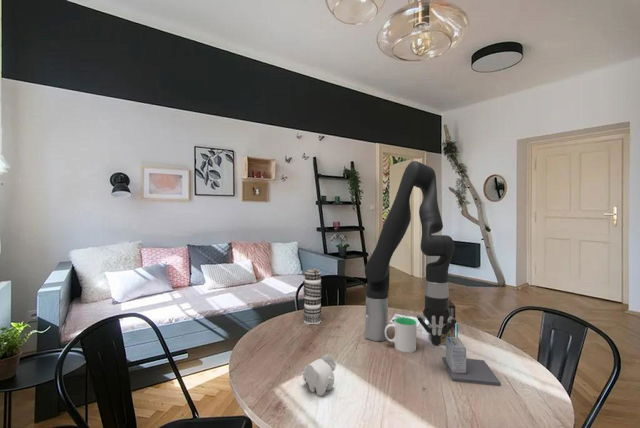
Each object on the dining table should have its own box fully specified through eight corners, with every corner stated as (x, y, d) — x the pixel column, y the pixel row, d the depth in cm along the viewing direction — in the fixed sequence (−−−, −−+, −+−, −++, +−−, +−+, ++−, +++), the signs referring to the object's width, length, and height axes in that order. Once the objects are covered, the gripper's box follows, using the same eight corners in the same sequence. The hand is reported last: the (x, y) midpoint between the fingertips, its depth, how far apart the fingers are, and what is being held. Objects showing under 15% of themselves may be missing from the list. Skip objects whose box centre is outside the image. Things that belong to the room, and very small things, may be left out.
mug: (386, 351, 114) (386, 324, 114) (383, 342, 122) (383, 316, 122) (418, 352, 113) (418, 325, 113) (413, 343, 121) (413, 317, 121)
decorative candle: (299, 319, 146) (300, 268, 146) (317, 316, 150) (317, 266, 150) (307, 326, 138) (307, 271, 138) (325, 323, 142) (325, 270, 141)
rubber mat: (452, 381, 95) (452, 378, 95) (442, 359, 108) (442, 356, 108) (500, 385, 92) (500, 382, 92) (483, 362, 106) (483, 360, 106)
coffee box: (450, 339, 125) (450, 300, 125) (455, 346, 119) (456, 305, 119) (427, 338, 126) (428, 299, 126) (431, 344, 120) (432, 304, 120)
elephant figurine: (313, 374, 98) (313, 347, 98) (343, 388, 91) (343, 359, 91) (292, 387, 91) (292, 358, 91) (323, 403, 83) (323, 372, 83)
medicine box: (466, 374, 97) (466, 347, 97) (451, 373, 98) (452, 346, 97) (458, 361, 105) (459, 337, 105) (445, 360, 105) (445, 336, 105)
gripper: (417, 296, 99) (417, 348, 99) (460, 298, 97) (459, 351, 97) (414, 290, 107) (414, 338, 107) (454, 292, 104) (453, 341, 105)
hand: (435, 344), depth 102 cm, fingers closed
